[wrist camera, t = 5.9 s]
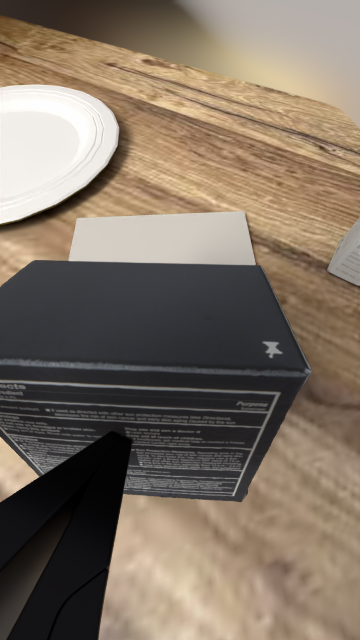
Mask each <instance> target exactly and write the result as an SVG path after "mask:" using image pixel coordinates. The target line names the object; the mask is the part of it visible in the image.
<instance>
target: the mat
mask: <svg viewBox="0 0 360 640" xmlns="http://www.w3.org/2000/svg"><path fill="white" fill-rule="evenodd" d="M68 261H93V262H133V263H179V264H224V265H256V263H255V259H254V254H253V249H252V245H251V240H250V236H249V231H248V227H247V222H246V218H245V213H244V211H237V212H213V213H189V214H165V215H141V216H116V217H92V218H77V222H76V227H75V232H74V236H73V241H72V246H71V251H70V256H69V260H68Z"/></svg>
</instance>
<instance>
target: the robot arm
mask: <svg viewBox="0 0 360 640" xmlns="http://www.w3.org/2000/svg"><path fill="white" fill-rule="evenodd" d="M132 443H133V439H132V438H129V437H127V436H124V435H122V434H120V433H117V432H115V431H110V432H108V433H107V434H105V435H104V436H102V437H101V438H99V439H98V440H96V441H95V442H93V443H91V444H90V445H88V446H87V447H85V448H84V449H82V450H81V451H79V452H78V453H76V454H74V455H73V456H71V457H70V458H68V459H67V460H65V461H64V462H62V463H60V464H59V465H57V466H56V467H54V468H53V469H51V470H50V471H48V472H47V473H45V474H43V475H42V476H40V477H39V478H37V479H36V480H34V481H33V482H31V483H30V484H28V485H26V486H25V487H23V488H22V489H20V490H19V491H17V492H16V493H14V494H13V495H11V496H9V497H8V498H6V499H5V500H3V501H2V502H0V640H98V639H99V631H100V623H101V617H102V610H103V604H104V598H105V591H106V586H107V580H108V575H109V568H110V563H111V558H112V552H113V547H114V541H115V536H116V530H117V525H118V519H119V514H120V508H121V503H122V498H123V492H124V487H125V481H126V476H127V470H128V465H129V459H130V454H131V448H132Z"/></svg>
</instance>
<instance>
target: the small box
mask: <svg viewBox="0 0 360 640" xmlns="http://www.w3.org/2000/svg"><path fill="white" fill-rule="evenodd" d="M311 373H312V370H311V367H310V365H309V363H308V361H307V359H306V357H305V355H304V353H303V351H302V349H301V347H300V345H299V343H298V342H297V339H296V337H295V335H294V332H293V331H292V328H291V326H290V324H289V321H288V319H287V318H286V316H285V313H284V311H283V309H282V307H281V305H280V303H279V300H278V298H277V297H276V295H275V292H274V290H273V288H272V286H271V284H270V282H269V279H268V277H267V276H266V273H265V271H264V269H263V267H262V266H260V265H224V264H179V263H133V262H93V261H50V260H34V261H32V262H31V263H29V264H28V265H27V266H26V267H24V268H23V269H21V270H20V271H19V272H18V273H17V274H15V275H14V276H13V277H12V278H10V279H9V280H8V281H7V282H5V283H4V284H3V285H2V286H1V287H0V437H1V438H2V439H3V440H4V441H5V442H6V443H7V444H8V445H9V446H10V447H11V448H12V449H13V450H14V451H15V452H16V453H17V454H18V455H19V456H20V457H21V458H22V459H23V460H24V461H25V462H26V463H27V464H28V465H29V466H30V467H31V468H32V469H33V470H34V471H35V473H37V475H38V476H39V477H40V476H42V475H43V474H45V473H47V472H48V471H50V470H51V469H53V468H54V467H56V466H57V465H59V464H60V463H62V462H64V461H65V460H67V459H68V458H70V457H71V456H73V455H74V454H76V453H78V452H79V451H81V450H82V449H84V448H85V447H87V446H88V445H90V444H91V443H93V442H95V441H96V440H98V439H99V438H101V437H102V436H104V435H105V434H107V433H108V432H110V431H115V432H117V433H120V434H122V435H124V436H127V437H129V438H132V439H133V443H132V448H131V454H130V459H129V465H128V470H127V476H126V481H125V487H124V492H123V494H131V495H146V496H159V497H172V498H190V499H203V500H222V501H237V502H242V500H243V499H244V498H245V496H246V495H247V493H248V487H249V485H250V483H251V481H252V479H253V477H254V475H255V474H256V472H257V470H258V468H259V466H260V464H261V462H262V460H263V458H264V456H265V454H266V453H267V451H268V449H269V447H270V445H271V443H272V440H273V438H274V437H275V436H276V434H277V431H278V430H279V428H280V425H281V424H282V422H283V420H284V418H285V416H286V414H287V412H288V410H289V408H290V406H291V405H292V402H293V401H294V399H295V397H296V395H297V393H298V391H299V390H300V389H301V387H302V386H303V385H304V384H305V383H306V382H307V380H308V378H309V376H310V374H311Z"/></svg>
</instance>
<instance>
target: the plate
mask: <svg viewBox="0 0 360 640" xmlns="http://www.w3.org/2000/svg"><path fill="white" fill-rule="evenodd" d="M119 130H120V129H119V126H118V123H117V121H116V118H115V116H114V113H113V112H112V111H111V110H110V109H109V108H108V107H107V106H106V105H105V104H104V103H103V102H102V101H100V100H98V99H96V98H94V97H92V96H90V95H88V94H86V93H84V92H82V91H78V90H74V89H70V88H66V87H61V86H50V85H18V86H8V87H2V88H0V225H4V224H8V223H13V222H17V221H21V220H23V219H26V218H28V217H31V216H33V215H35V214H38V213H40V212H43V211H45V210H48V209H50V208H52V207H55V206H57V205H59V204H60V203H62V202H64V201H65V200H67V199H68V198H70V197H71V196H73V195H75V194H76V193H78V192H79V191H81V190H82V189H84V188H86V187H87V186H88V185H89V184H90V183H91V182H92V181H93V180H94V179H95V178H96V177H97V176H98V175H99V174H100V173H101V172H102V171H103V170H104V169H105V168H106V167H107V166H108V164H109V162H110V160H111V159H112V157H113V155H114V153H115V151H116V149H117V147H118V140H119Z"/></svg>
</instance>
